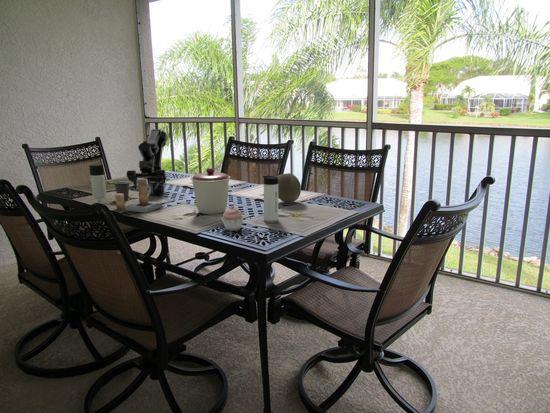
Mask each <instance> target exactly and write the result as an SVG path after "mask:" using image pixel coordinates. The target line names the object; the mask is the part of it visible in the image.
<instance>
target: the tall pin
mask: <svg viewBox="0 0 550 413" xmlns="http://www.w3.org/2000/svg"><path fill="white" fill-rule="evenodd" d="M137 189H138V199H139V201H138V202H140V206H148V201H149V197H148V181H147V179H137Z"/></svg>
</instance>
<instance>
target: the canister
mask: <svg viewBox="0 0 550 413" xmlns="http://www.w3.org/2000/svg"><path fill="white" fill-rule="evenodd" d="M230 179H231V176H230V175H228V174H227V173H224V172H218V171H217V172H215V168H213V167H211V166H210V167H207V168H206V172H201V173H197V174H194V175H193V176H192V177H190V180H191V181H192V187H193V192H194V193H193V194H194V200H195V204H196V209H197V211H198V212H199V213H200V214H203V215H217V214H218V215H219V214H221V213H224V212H225V210H226V209H227V207H228V206H227V205H228V197H229V196H228V195H229V187H230V186H229V183H230Z"/></svg>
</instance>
